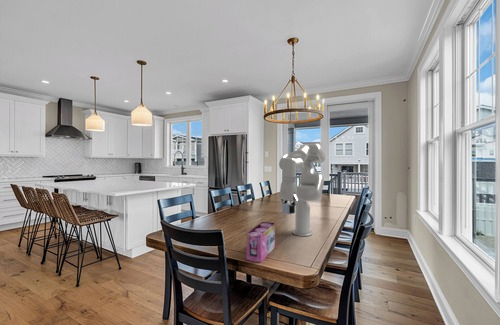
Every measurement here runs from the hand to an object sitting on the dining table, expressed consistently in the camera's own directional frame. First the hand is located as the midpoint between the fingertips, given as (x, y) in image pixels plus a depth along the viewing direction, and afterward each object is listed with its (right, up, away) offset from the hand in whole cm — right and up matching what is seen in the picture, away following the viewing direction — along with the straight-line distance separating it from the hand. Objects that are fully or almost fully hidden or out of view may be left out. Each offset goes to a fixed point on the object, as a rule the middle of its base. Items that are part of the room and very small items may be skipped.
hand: (288, 211), depth 135 cm
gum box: (-16, -20, -10) cm, 27 cm away
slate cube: (0, -1, 0) cm, 1 cm away
